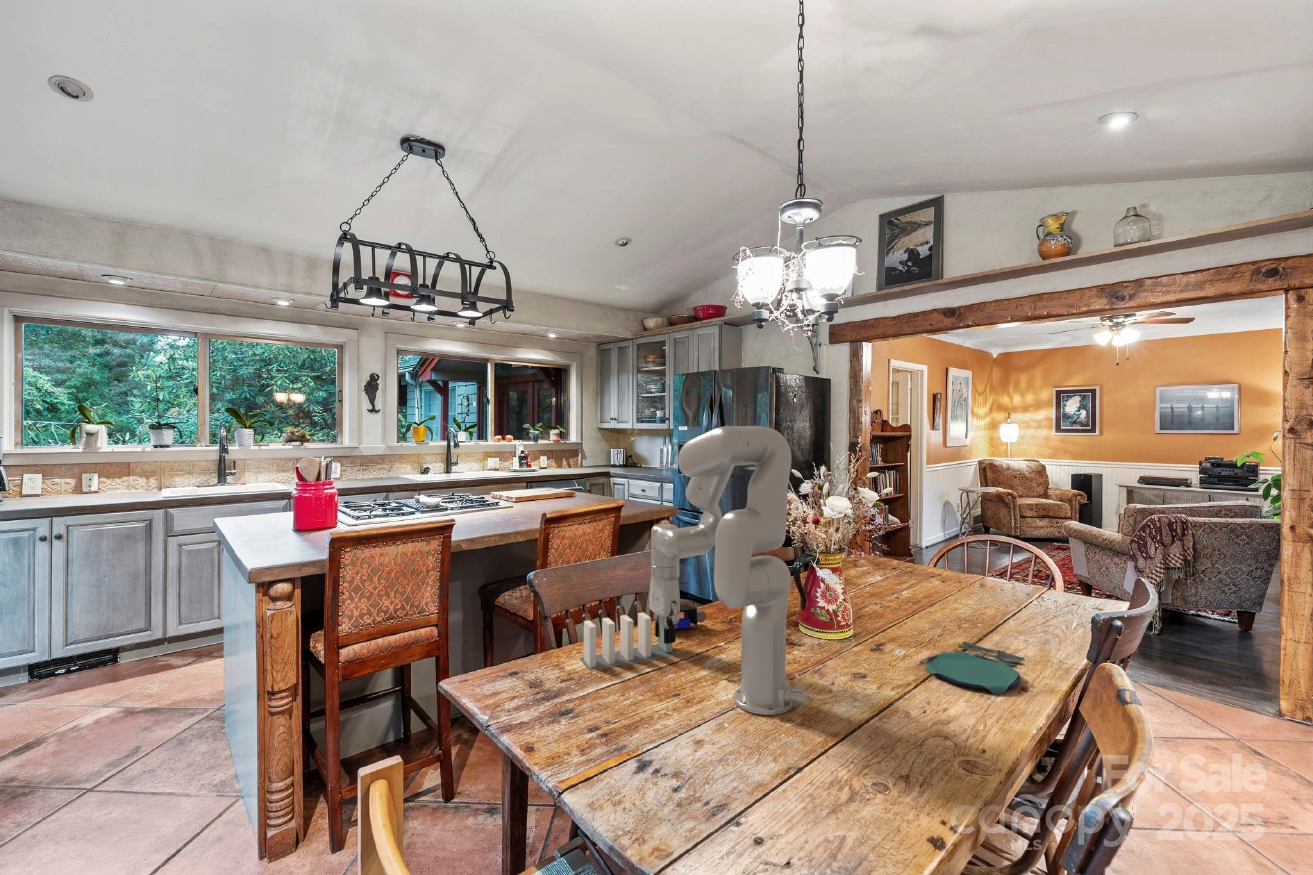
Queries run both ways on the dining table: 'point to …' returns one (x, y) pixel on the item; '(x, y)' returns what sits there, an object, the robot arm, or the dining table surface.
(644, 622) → the ivory tile
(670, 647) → the tile
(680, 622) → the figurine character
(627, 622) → the ivory tile
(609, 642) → the ivory tile
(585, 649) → the ivory tile
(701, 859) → the dining table surface
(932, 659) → the cutlery set
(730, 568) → the robot arm
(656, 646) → the mat
